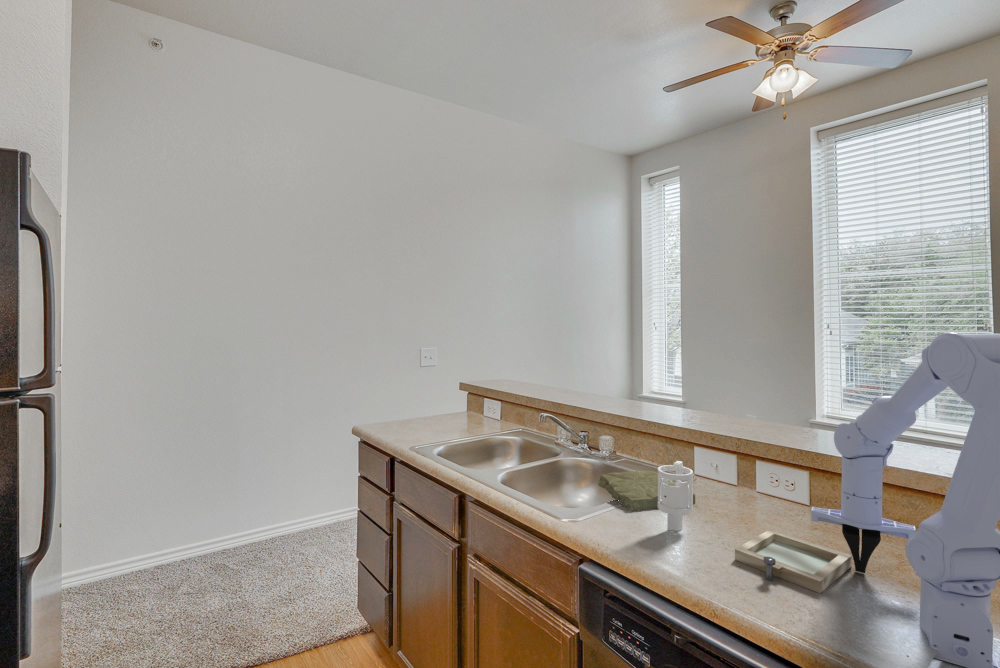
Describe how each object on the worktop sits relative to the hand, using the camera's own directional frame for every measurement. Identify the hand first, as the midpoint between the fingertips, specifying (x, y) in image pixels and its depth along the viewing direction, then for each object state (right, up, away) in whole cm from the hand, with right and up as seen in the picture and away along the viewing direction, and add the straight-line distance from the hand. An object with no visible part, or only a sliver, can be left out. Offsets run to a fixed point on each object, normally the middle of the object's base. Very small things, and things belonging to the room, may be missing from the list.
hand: (860, 569), depth 85 cm
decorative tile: (-26, -2, +43) cm, 50 cm away
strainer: (-26, -2, +19) cm, 32 cm away
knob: (-17, -2, -2) cm, 17 cm away
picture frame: (-10, -1, +3) cm, 11 cm away
